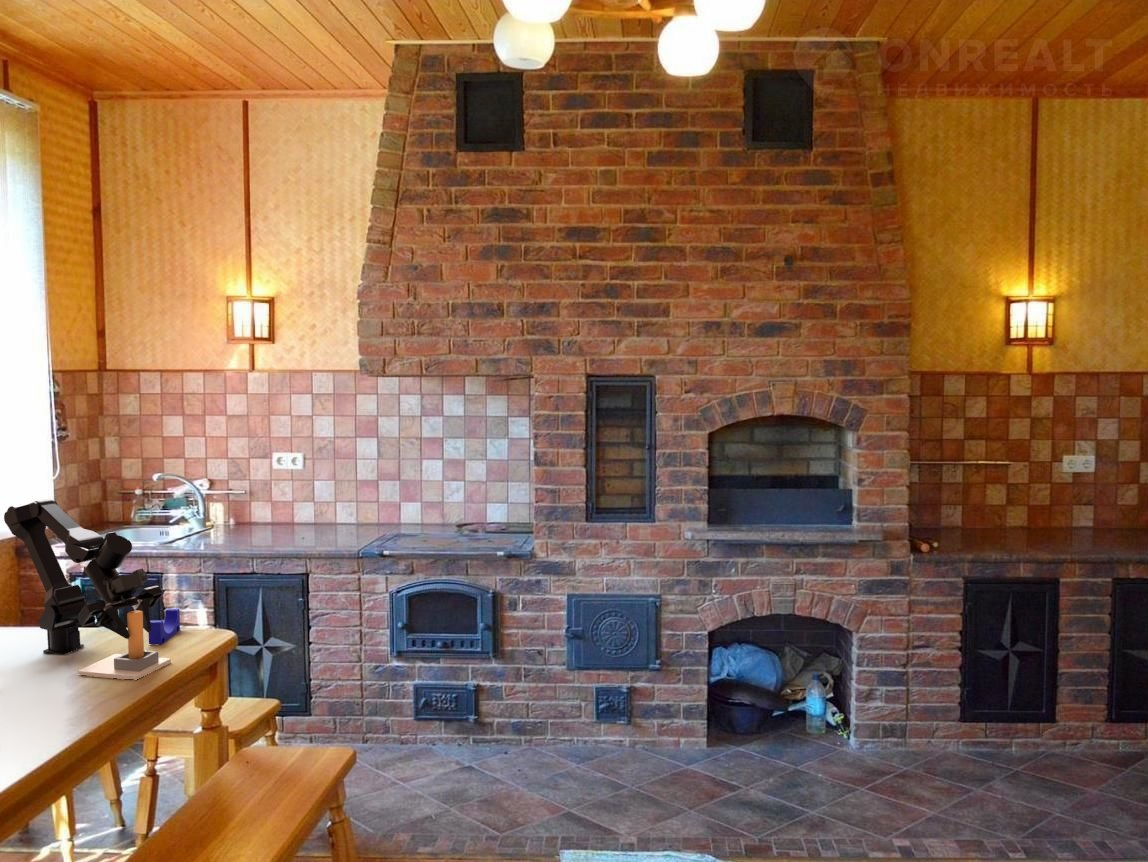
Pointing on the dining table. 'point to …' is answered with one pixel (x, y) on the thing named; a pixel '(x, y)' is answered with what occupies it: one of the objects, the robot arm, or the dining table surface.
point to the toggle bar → (135, 634)
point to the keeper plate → (125, 666)
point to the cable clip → (165, 627)
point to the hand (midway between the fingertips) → (139, 634)
